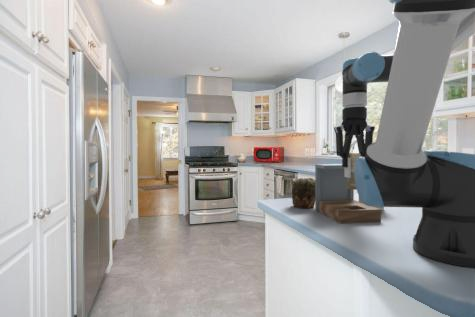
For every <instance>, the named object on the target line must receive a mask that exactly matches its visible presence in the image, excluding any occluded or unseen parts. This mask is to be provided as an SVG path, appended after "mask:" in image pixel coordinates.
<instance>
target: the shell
mask: <svg viewBox="0 0 475 317" xmlns="http://www.w3.org/2000/svg"><path fill="white" fill-rule="evenodd" d="M291 199H292V201H291V202H292V205H293V207H294V208H295V209H296V208H298V209H310V208H314V207H315V178H312V177H307V178H297V179H296V180H295V181H294V182H293V184H292V188H291Z"/></svg>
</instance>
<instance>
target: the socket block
mask: <svg viewBox="0 0 475 317" xmlns="http://www.w3.org/2000/svg"><path fill="white" fill-rule="evenodd" d="M318 212H319V213H321V214H323V215H325V216H327V218H330V219H331V220H334V221H335V222H337V223H339V224H356V223H360V224H361V223H378V222H381V221H382V211H381V209H378V208H375V207H373V206H367V205H365V204H364V203H361V202H359V200H355V199H354V200H329V201H319V211H318Z"/></svg>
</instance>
